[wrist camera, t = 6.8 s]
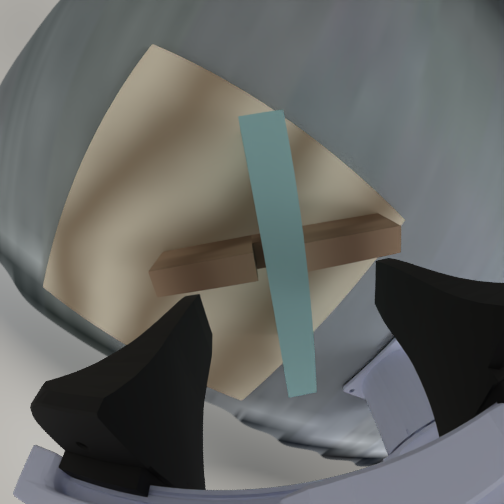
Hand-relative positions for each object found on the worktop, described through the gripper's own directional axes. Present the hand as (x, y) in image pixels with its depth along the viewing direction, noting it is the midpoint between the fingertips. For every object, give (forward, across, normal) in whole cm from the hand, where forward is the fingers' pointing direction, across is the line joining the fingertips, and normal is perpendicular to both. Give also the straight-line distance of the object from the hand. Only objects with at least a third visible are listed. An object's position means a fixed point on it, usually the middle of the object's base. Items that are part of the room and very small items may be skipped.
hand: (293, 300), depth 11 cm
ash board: (+7, +5, 0) cm, 9 cm away
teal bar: (+7, 0, 0) cm, 7 cm away
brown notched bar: (+7, 0, 0) cm, 7 cm away
